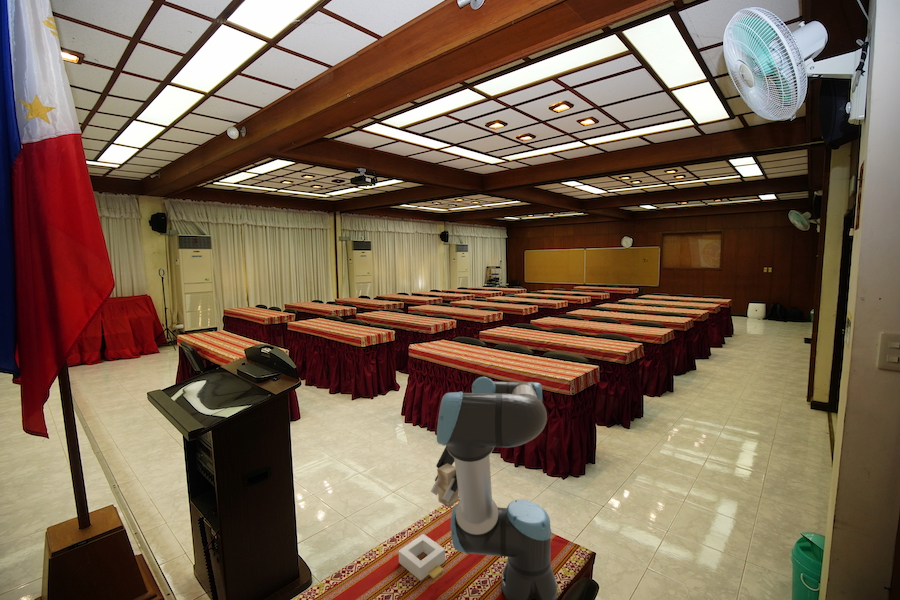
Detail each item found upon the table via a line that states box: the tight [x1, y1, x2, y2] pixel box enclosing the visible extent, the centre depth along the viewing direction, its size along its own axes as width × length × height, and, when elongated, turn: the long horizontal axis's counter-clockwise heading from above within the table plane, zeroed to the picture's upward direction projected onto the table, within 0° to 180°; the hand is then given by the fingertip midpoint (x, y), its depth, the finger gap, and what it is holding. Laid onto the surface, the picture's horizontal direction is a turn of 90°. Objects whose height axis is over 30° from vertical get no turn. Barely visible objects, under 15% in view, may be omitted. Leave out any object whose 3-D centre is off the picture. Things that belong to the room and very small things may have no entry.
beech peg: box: [436, 463, 460, 508], centre depth 126 cm, size 4×4×11 cm
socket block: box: [398, 533, 446, 582], centre depth 120 cm, size 12×10×4 cm
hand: (439, 496), depth 124 cm, fingers closed on beech peg, 4 cm apart
